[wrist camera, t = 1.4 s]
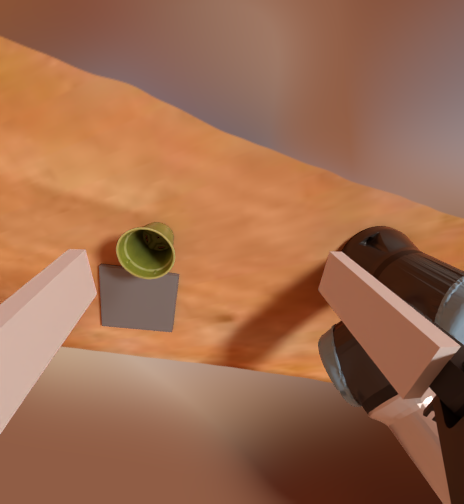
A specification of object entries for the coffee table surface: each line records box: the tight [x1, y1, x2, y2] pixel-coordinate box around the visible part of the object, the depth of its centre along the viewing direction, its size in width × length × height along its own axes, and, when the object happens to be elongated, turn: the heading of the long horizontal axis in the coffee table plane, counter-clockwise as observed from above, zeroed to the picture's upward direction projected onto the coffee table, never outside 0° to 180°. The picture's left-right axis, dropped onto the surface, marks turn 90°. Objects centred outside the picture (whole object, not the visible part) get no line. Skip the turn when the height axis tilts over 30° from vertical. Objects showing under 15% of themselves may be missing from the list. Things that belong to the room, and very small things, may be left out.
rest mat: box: [99, 264, 179, 332], centre depth 49 cm, size 16×16×1 cm
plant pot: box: [116, 222, 175, 279], centre depth 40 cm, size 9×9×9 cm
